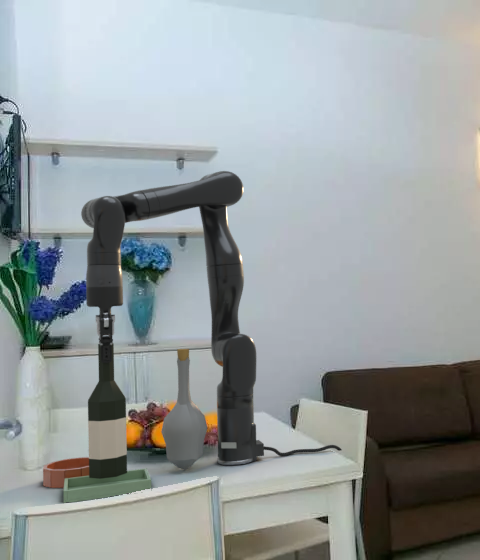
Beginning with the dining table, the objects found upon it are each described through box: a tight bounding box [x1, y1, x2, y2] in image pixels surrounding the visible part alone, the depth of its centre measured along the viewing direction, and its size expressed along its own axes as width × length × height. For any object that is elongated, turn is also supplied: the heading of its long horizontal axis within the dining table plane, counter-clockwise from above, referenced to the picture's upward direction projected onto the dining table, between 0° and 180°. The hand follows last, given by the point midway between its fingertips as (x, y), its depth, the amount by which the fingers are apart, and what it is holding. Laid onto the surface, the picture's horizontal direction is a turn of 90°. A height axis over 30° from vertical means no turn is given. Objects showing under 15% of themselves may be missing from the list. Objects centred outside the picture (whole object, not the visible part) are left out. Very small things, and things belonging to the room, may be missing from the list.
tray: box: [62, 467, 152, 504], centre depth 152 cm, size 17×11×3 cm, turn 116°
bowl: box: [42, 456, 89, 489], centre depth 162 cm, size 13×13×4 cm
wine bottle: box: [87, 342, 128, 479], centre depth 153 cm, size 8×8×30 cm
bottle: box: [160, 348, 208, 471], centre depth 169 cm, size 11×11×30 cm
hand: (106, 361), depth 153 cm, fingers closed on wine bottle, 3 cm apart
